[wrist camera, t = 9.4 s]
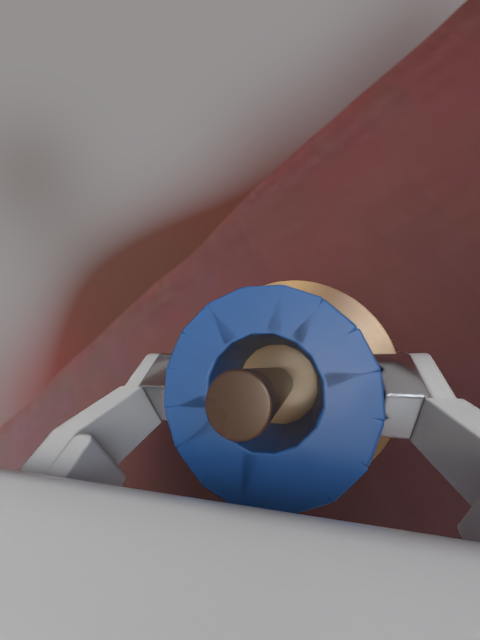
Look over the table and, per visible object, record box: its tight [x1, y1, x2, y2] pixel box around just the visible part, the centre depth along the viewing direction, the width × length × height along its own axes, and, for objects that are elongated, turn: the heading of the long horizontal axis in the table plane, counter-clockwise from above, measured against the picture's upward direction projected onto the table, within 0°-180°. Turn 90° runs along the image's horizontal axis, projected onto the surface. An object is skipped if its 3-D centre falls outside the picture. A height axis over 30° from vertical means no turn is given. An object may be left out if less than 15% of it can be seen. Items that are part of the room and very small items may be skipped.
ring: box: [164, 284, 386, 514], centre depth 8 cm, size 6×6×4 cm
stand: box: [205, 280, 396, 460], centre depth 11 cm, size 13×13×14 cm
